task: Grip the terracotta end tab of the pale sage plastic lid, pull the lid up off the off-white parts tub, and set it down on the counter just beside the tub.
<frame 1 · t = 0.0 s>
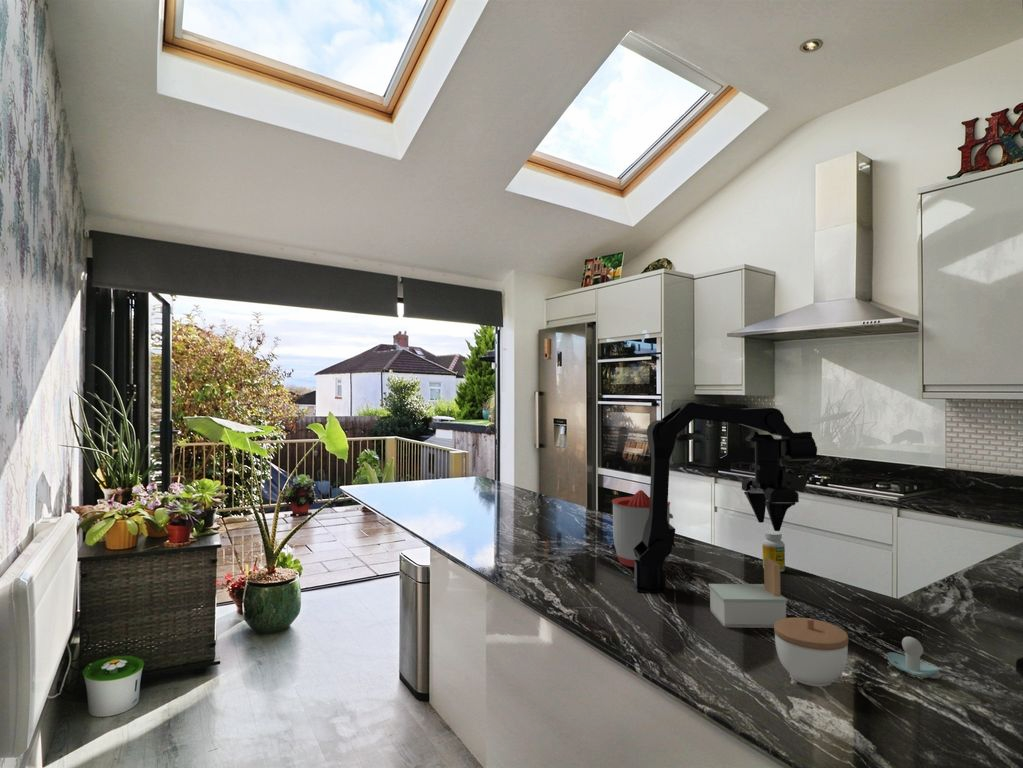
hand: (768, 526, 139), 15 cm above the countertop, tool pointing down, fingers open, 9 cm apart
tub: (746, 619, 120), on the countertop
pacifier: (916, 675, 97), on the countertop
lid: (746, 594, 120), point 5 cm above the countertop, touching tub
citrus juicer: (643, 564, 160), on the countertop
supplement bottle: (773, 570, 154), on the countertop
lidded jar: (810, 679, 95), on the countertop
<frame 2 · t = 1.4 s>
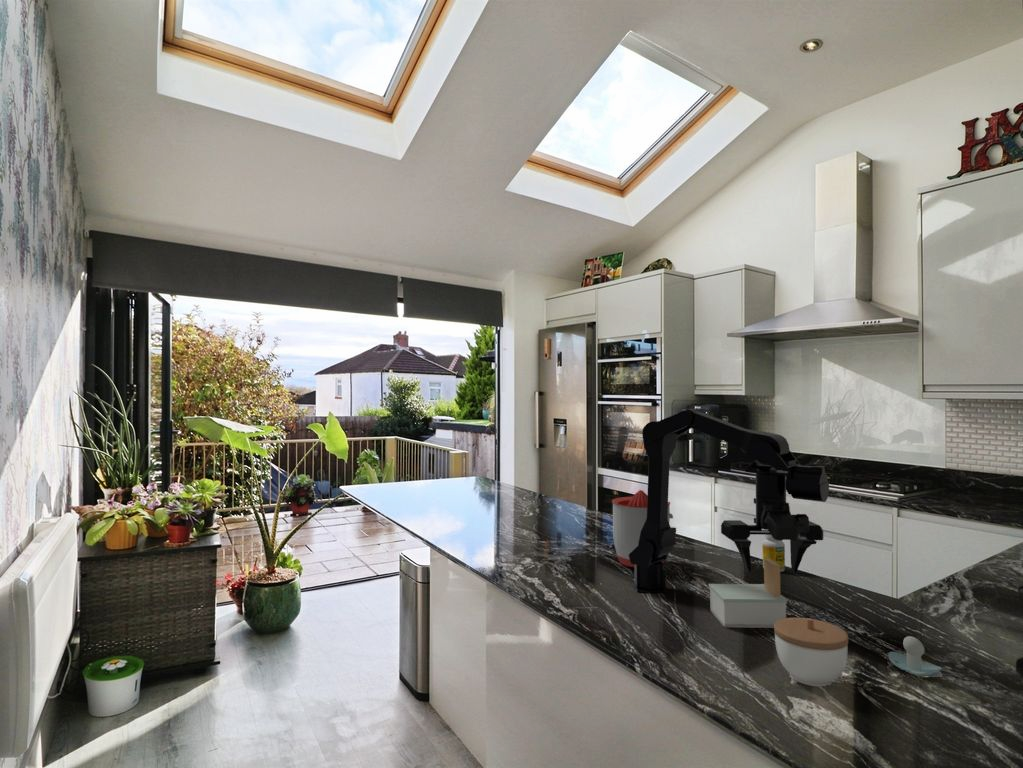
hand: (771, 572, 120), 9 cm above the countertop, tool pointing down, fingers open, 9 cm apart
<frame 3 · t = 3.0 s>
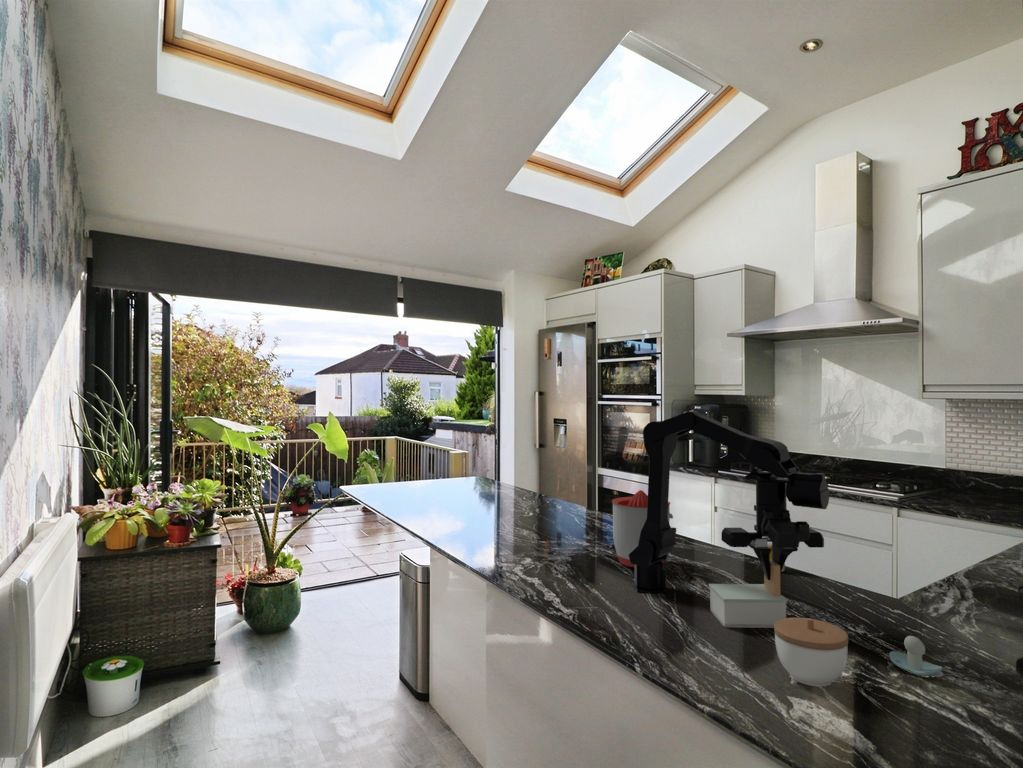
hand: (772, 579, 120), 8 cm above the countertop, tool pointing down, fingers closed on lid
lid: (746, 594, 120), point 5 cm above the countertop, touching gripper
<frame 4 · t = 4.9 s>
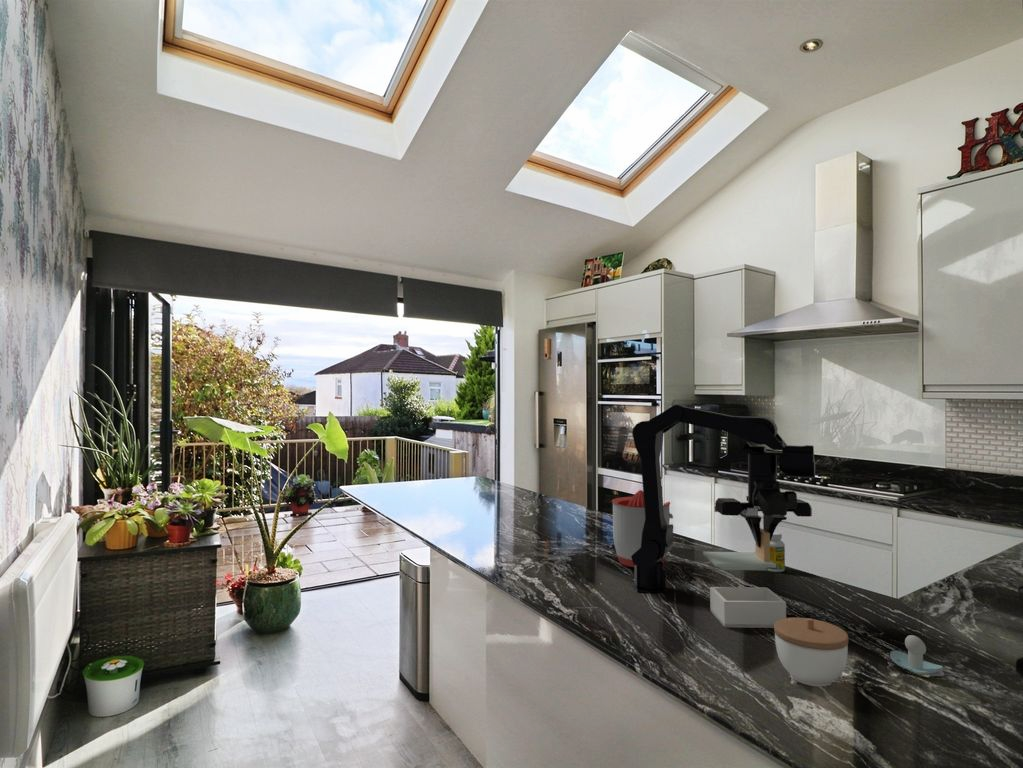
hand: (762, 547, 127), 13 cm above the countertop, tool pointing down, fingers closed on lid
lid: (738, 560, 128), point 10 cm above the countertop, touching gripper
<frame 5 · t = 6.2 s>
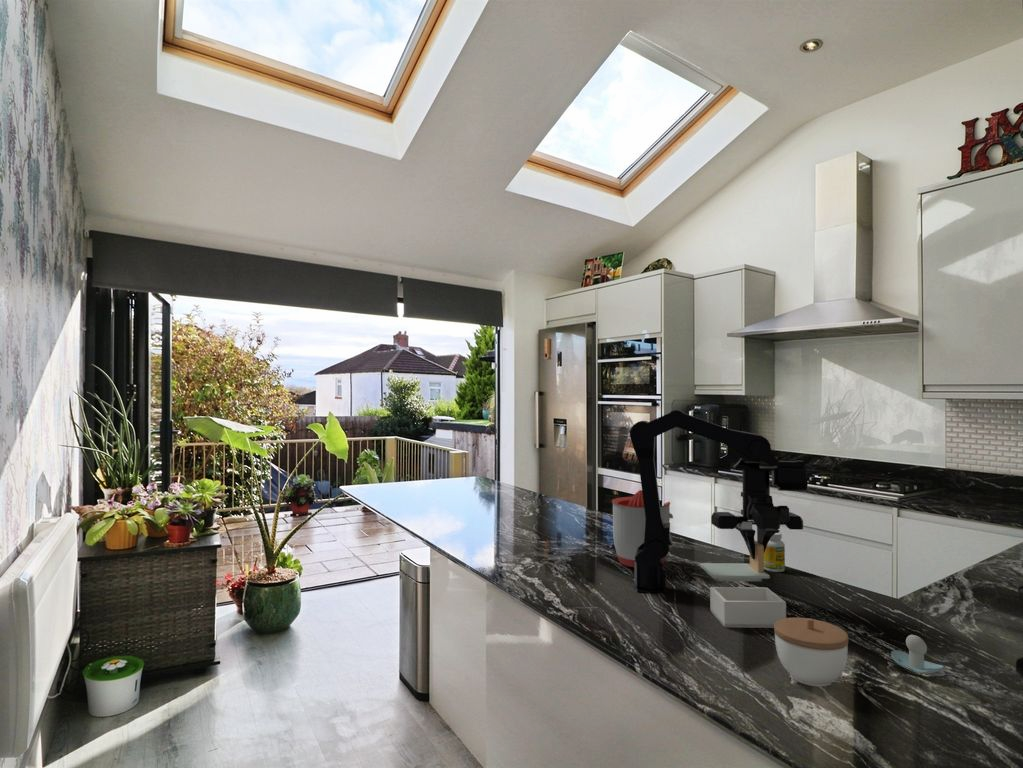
hand: (756, 558, 133), 9 cm above the countertop, tool pointing down, fingers closed on lid
lid: (733, 571, 133), point 6 cm above the countertop, touching gripper
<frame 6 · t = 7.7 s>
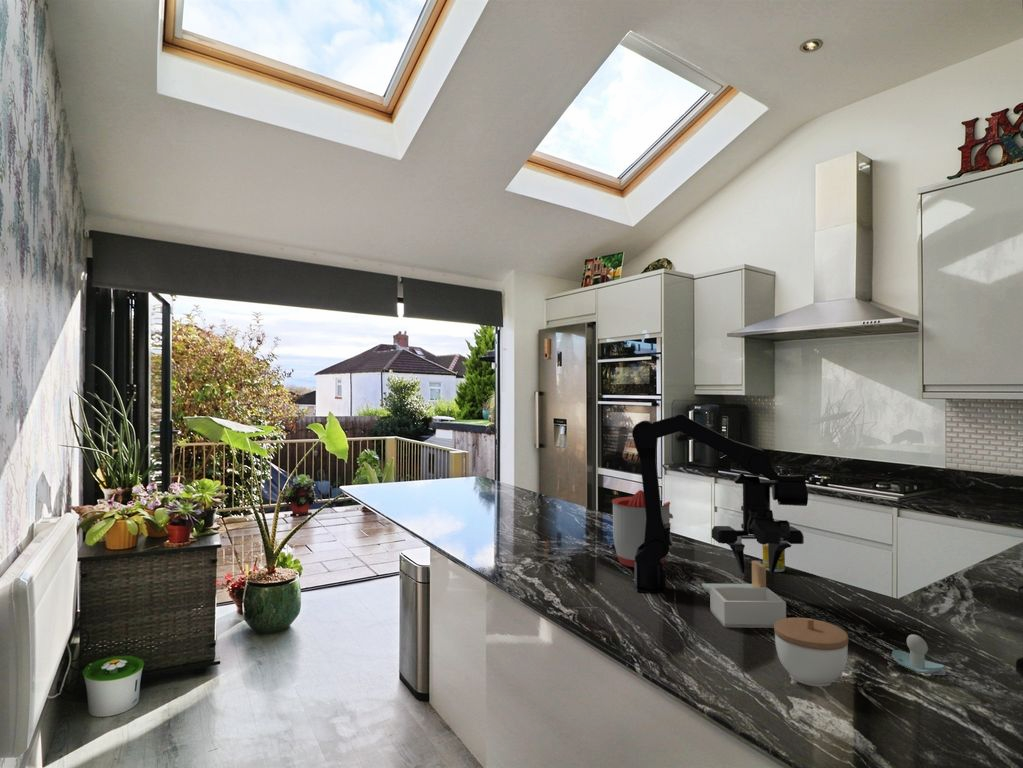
hand: (757, 573, 133), 6 cm above the countertop, tool pointing down, fingers open, 6 cm apart
lid: (735, 592, 133), point 1 cm above the countertop
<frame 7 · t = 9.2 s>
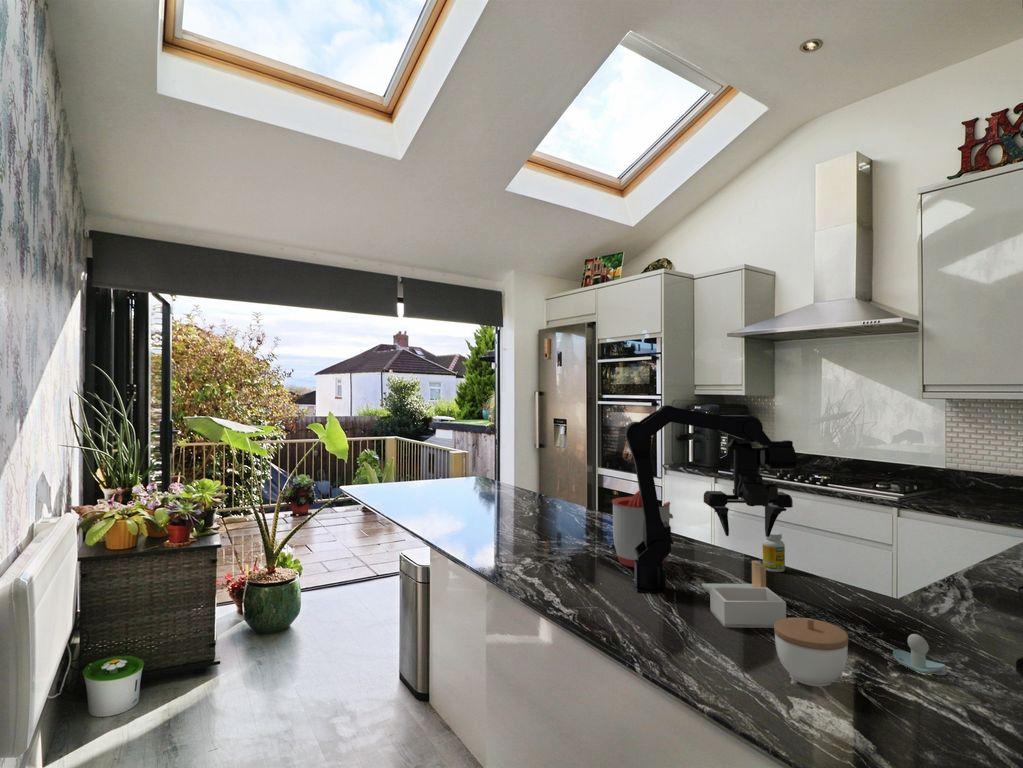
hand: (747, 536, 137), 13 cm above the countertop, tool pointing down, fingers open, 9 cm apart
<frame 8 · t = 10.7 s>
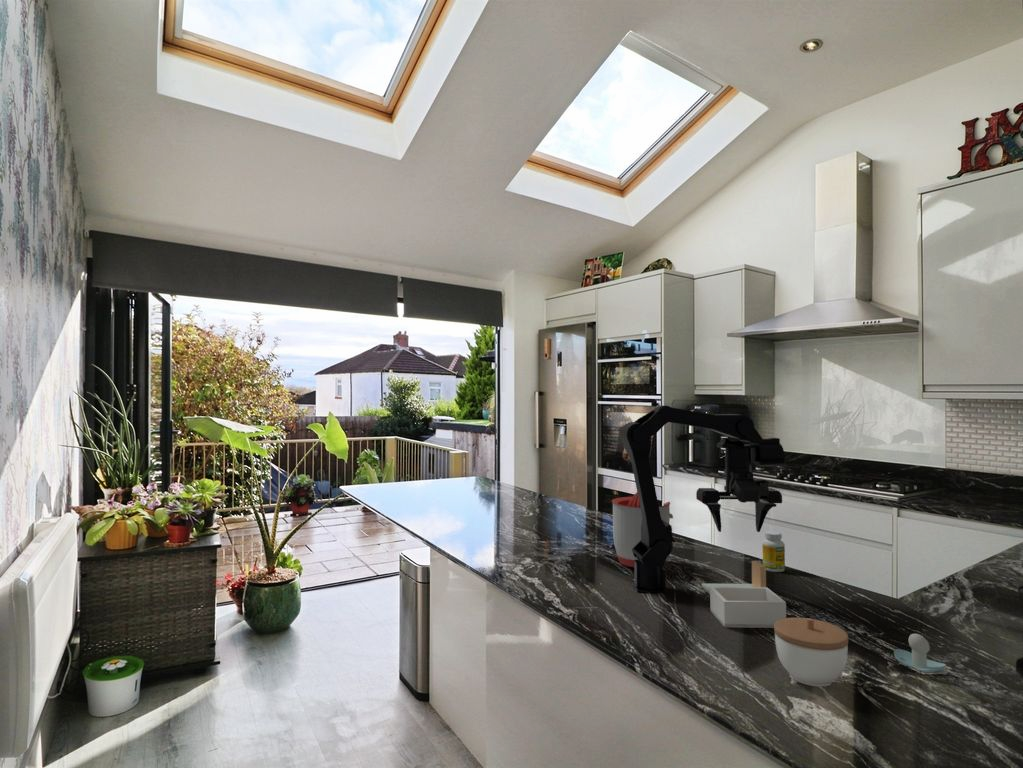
hand: (738, 531, 141), 13 cm above the countertop, tool pointing down, fingers open, 9 cm apart
at the end: lid touching countertop; lid point 1.0 cm above the countertop; the gripper is holding nothing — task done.
